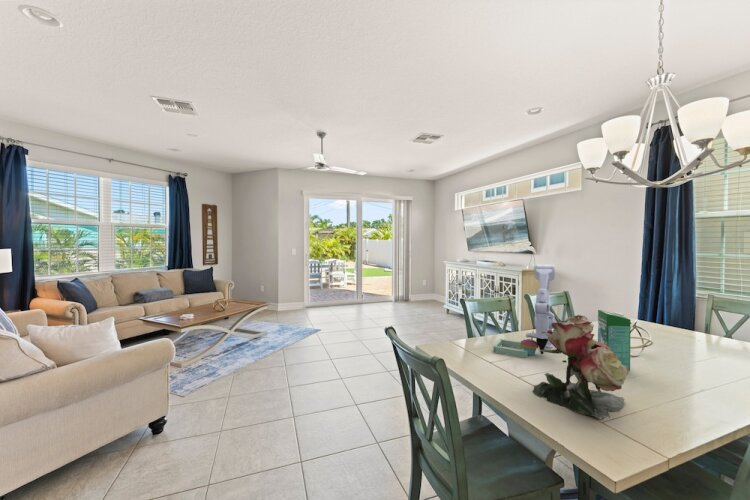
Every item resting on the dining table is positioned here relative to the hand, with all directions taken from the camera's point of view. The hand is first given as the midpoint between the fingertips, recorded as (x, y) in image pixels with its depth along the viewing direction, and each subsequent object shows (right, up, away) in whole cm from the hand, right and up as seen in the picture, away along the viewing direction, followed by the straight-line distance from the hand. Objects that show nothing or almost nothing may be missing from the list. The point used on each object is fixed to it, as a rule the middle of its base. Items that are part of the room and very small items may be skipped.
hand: (542, 353), depth 164 cm
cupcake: (-5, -1, +3) cm, 6 cm away
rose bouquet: (-7, -3, -44) cm, 44 cm away
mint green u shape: (-11, -1, +7) cm, 13 cm away
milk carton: (+25, -1, -15) cm, 29 cm away
